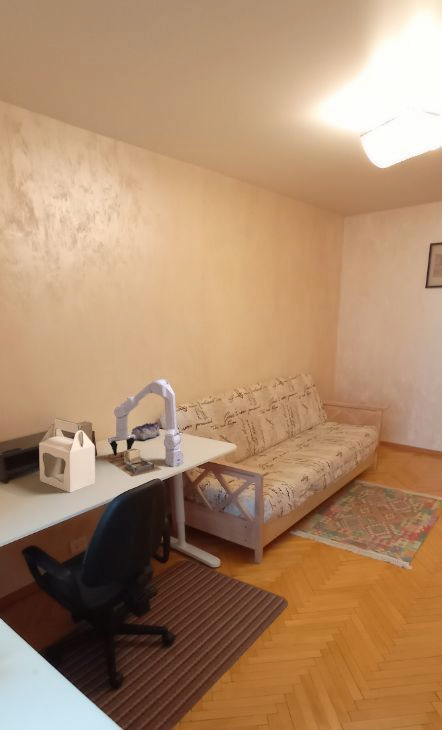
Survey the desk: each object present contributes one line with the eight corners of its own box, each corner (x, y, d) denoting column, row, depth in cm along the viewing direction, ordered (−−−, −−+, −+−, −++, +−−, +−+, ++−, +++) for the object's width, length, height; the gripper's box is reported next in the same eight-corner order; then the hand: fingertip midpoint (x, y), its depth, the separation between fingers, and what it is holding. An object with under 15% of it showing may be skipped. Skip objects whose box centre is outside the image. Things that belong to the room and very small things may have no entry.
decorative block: (75, 466, 206) (74, 427, 204) (68, 464, 209) (67, 425, 207) (93, 460, 215) (92, 422, 213) (85, 458, 219) (85, 421, 216)
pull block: (146, 460, 212) (145, 448, 212) (124, 465, 204) (123, 453, 204) (130, 456, 224) (129, 445, 224) (109, 461, 217) (108, 449, 217)
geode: (150, 432, 272) (152, 417, 270) (163, 438, 266) (165, 423, 264) (126, 438, 255) (128, 422, 253) (140, 444, 249) (142, 428, 247)
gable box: (95, 483, 186) (95, 421, 183) (70, 493, 175) (69, 427, 172) (64, 472, 198) (63, 414, 195) (39, 481, 187) (37, 419, 184)
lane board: (162, 471, 202) (162, 464, 202) (131, 478, 192) (131, 471, 192) (131, 454, 227) (131, 447, 226) (103, 459, 217) (103, 453, 216)
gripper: (131, 424, 224) (131, 449, 225) (105, 428, 215) (105, 454, 216) (137, 427, 219) (137, 452, 220) (111, 431, 210) (111, 458, 211)
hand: (122, 453), depth 218 cm, fingers open, 7 cm apart
